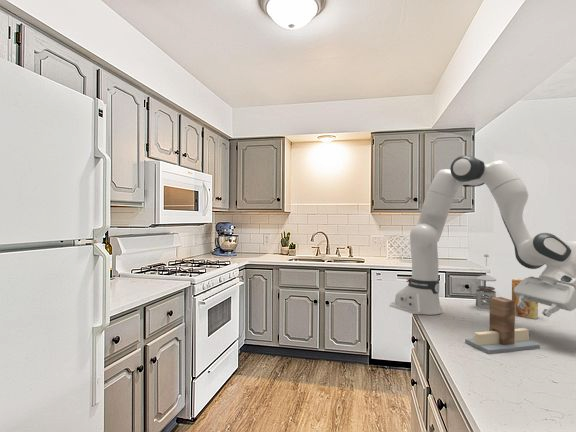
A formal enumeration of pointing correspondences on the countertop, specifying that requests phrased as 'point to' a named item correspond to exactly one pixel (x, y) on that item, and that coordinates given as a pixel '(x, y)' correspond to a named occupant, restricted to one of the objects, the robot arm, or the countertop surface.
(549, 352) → the countertop surface
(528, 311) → the candy box
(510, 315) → the walnut block
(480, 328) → the countertop surface
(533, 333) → the countertop surface
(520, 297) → the robot arm
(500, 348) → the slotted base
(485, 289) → the french press
